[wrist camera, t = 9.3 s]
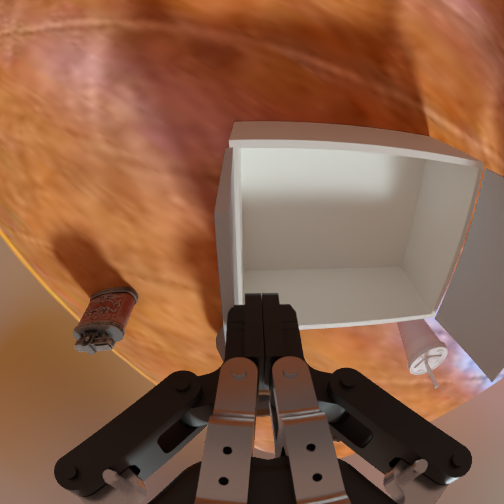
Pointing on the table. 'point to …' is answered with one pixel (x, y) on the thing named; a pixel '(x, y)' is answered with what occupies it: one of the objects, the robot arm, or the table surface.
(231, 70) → the table surface
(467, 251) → the flap
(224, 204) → the flap
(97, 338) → the lighter
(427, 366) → the smoothie
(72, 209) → the table surface
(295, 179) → the carton
